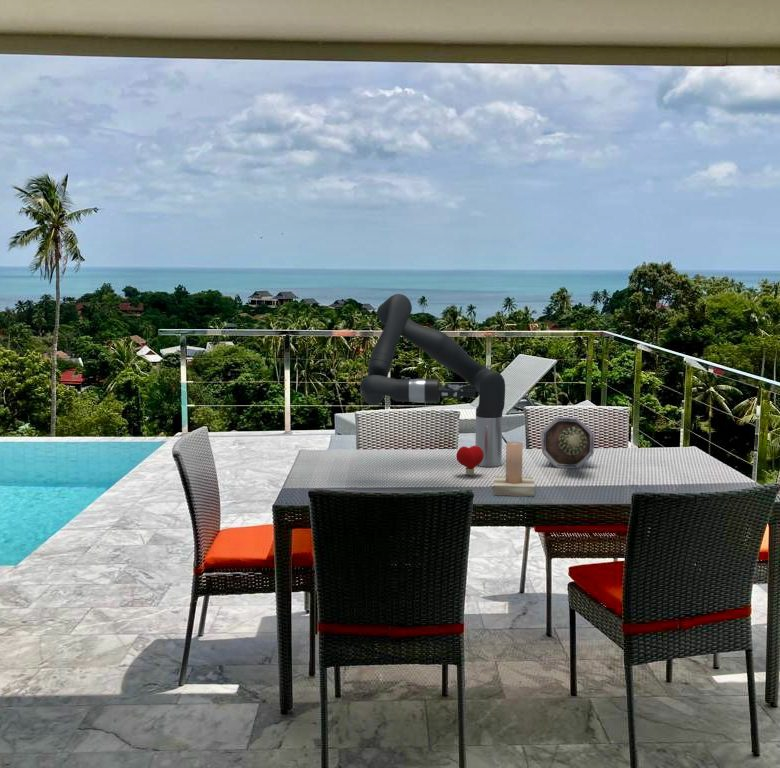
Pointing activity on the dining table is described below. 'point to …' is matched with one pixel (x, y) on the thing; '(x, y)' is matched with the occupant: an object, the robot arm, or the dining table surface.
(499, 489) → the base slab
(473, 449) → the red heart
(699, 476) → the dining table surface
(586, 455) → the potted plant
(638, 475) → the dining table surface
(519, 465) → the tall pink cylinder
